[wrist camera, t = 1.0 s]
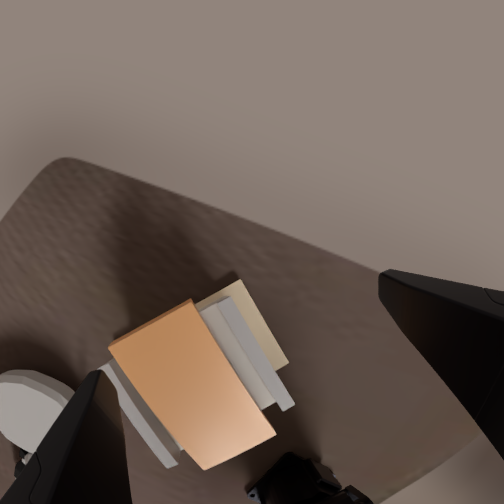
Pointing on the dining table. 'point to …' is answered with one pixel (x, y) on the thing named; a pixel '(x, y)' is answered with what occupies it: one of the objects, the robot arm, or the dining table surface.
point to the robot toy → (29, 409)
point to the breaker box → (235, 349)
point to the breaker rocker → (192, 386)
